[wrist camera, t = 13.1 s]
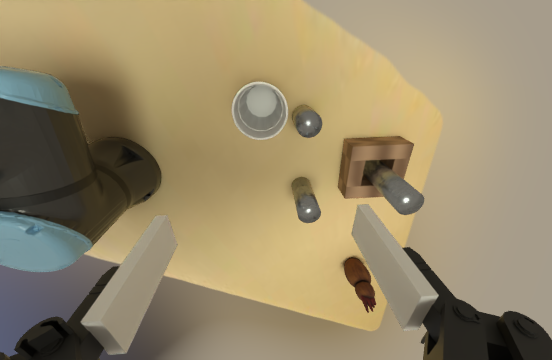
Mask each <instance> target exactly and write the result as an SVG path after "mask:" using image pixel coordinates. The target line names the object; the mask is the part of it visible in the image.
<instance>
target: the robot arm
mask: <svg viewBox="0 0 552 360" xmlns="http://www.w3.org/2000/svg"><path fill="white" fill-rule="evenodd" d="M78 115H79V112H78V111H77V110H76V109H75V107H74V105H73V102H72V100H71V97H70V95H69V92H68V90H67V88H66V86H65V85H64V84H63V83H62V82H61V81H60V80H59V79H57V78H56V77H54V76H52V75H49V74H46V73H42V72H37V71H31V70H25V69H19V68H12V67H6V66H0V264H1V265H4V266H7V267H10V268H14V269H19V270H25V271H32V272H33V271H34V272H50V271H56V270H60V269H63V268H65V267H67V266H69V265H71V264H72V263H74V262H75V261H76V260H77V259H78V258H79V257H80V256H81V255H83V254H84V253H85V252H87V251H88V250H90V249H91V248H92V246H93V245H94V244H95V243H96V242H97V241H98V240H99V239H100V238H101V237H102V235H103V234H104V233H105V232H106V231H107V230H108V229H109V228H110V227H111V226H112V225H113V224H114V223H115V222H116V221H117V219H118V218H119V217H120V216H121V215H122V214H123V213H124V212H125V211H126V210H127V209H129V208H131V207H133V206H135V205H138V204H140V203H142V202H144V201H146V200H148V199H149V198H150V197H151V196H152V195H153V194H154V193H155V192H156V191H157V189H158V188H159V186H160V183H161V173H160V169H159V166H158V164H157V162H156V161H155V159H154V158H153V157H152V156H151V155H150V153H149V152H147V151H146V150H145V149H144V148H143V147H141V146H140V145H138V144H136V143H134V142H132V141H129V140H127V139H123V138H117V137H107V138H102V139H99V140H97V141H95V142H93V143H91V144H89V145H88V144H87V141H86V138H85V135H84V132H83V129H82V126H81V123H80V120H79V117H78ZM352 236H353V238H354V240H355V242H356V243H357V245H358V247H359V249H360V251H361V253H362V255H363V257H364V258H365V260H366V262H367V264H368V266H369V268H370V270H371V271H372V273H373V275H374V277H375V279H376V281H377V283H378V285H379V286H380V288H381V290H382V292H383V294H384V296H385V298H386V299H387V301H388V303H389V305H390V307H391V309H392V311H393V312H394V314H395V316H396V318H397V320H398V322H399V324H400V326H401V327H402V329H403V331H406V330H418V329H419V328H420V326H421V324H422V323H423V324H424V326H425V327H426V329H427V332H426V334H425V335H424V337H423V338H422V340H421V343H422V344H424V342H425V347H424V356H423V360H552V340H551V338H550V337H549V335H548V334H547V333H546V331H545V330H544V329H543V328H542V327H541V326H540V325H539V324H537V323H536V322H535V321H534V320H532V319H530V318H529V317H527V316H525V315H523V314H520V313H518V312H513V311H508V312H505V313H504V314H503V315H502V316H501V317H499V316H495V315H491V314H486V313H482V312H479V311H477V310H476V309H475V308H473V307H472V306H471V305H470V304H468V303H466V302H464V301H462V300H459V299H456V298H455V297H454V295H453V294H452V293H451V292H450V291H449V289H448V288H447V287H446V286H445V285H444V284H443V282H442V281H441V280H440V279H439V278H438V276H437V275H436V274H435V273H434V272H433V271H432V270H431V268H430V267H429V266H428V265H427V264H426V262H425V261H424V260H423V259H422V257H421V256H420V255H419V254H418V253H417V252H415V251H413V249H411V248H410V247H407V248H402V247H401V246H400V245H399V243H398V242H397V241H396V240H395V238H394V237H393V236H392V234H391V233H390V232H389V230H388V229H387V228H386V227H385V225H384V224H383V223H382V221H381V220H380V219H379V218H378V216H377V215H376V214H375V212H374V211H373V210H372V208H371V207H370V206H369V205H368V204H364V205H357V210H356V215H355V220H354V225H353V229H352ZM177 245H178V244H177V242H176V239H175V236H174V233H173V230H172V227H171V224H170V221H169V218H168V216H167V215H160V216H155V218H154V219H153V220H152V222H151V223H150V225H149V226H148V227H147V229H146V230H145V232H144V233H143V234H142V236H141V237H140V239H139V240H138V242H137V243H136V244H135V246H134V247H133V249H132V250H131V251H130V253H129V254H128V256H127V257H126V258H125V260H124V261H123V263H122V264H121V266H117V267H112V268H111V269H110V270H108V271H107V272H106V273H105V274H104V275H102V277H101V278H100V279H99V281H98V282H97V283H96V285H95V287H93V289H92V290H91V291H90V292H89V295H87V297H86V298H85V299H84V300H83V302H82V303H81V304H80V306H79V307H78V308H77V310H76V311H75V312H74V314H73V315H72V316H71V318H70V319H69V320H68V321H67V323H66V322H65V321H64V320H63V319H62V318H60V317H52V318H48V319H46V320H43V321H41V322H39V323H38V324H36V325H35V326H33V327H32V328H31V329H29V330H28V331H27V332H26V333H25V334H24V335H23V336H22V337H21V338H20V340H19V341H18V342H17V344H16V347H15V349H14V350H15V351H16V352H18V354H16V355H13V356H10V357H8V356H7V355H5V354H4V353H1V352H0V360H100V359H99V356H100V355H101V353H102V351H103V349H104V350H105V351H107V353H108V354H109V355H112V354H125V353H127V351H128V349H129V346H130V344H131V342H132V340H133V338H134V336H135V334H136V332H137V330H138V328H139V325H140V323H141V321H142V319H143V317H144V315H145V313H146V310H147V308H148V306H149V304H150V302H151V300H152V298H153V296H154V294H155V291H156V289H157V287H158V285H159V283H160V281H161V279H162V277H163V274H164V272H165V270H166V268H167V266H168V264H169V262H170V260H171V257H172V255H173V253H174V251H175V249H176V247H177Z"/></svg>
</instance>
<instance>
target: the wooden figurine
mask: <svg viewBox="0 0 552 360" xmlns="http://www.w3.org/2000/svg"><path fill="white" fill-rule="evenodd" d="M344 271H345V275H346V278H347V280H348V281H349V282H350V284H351V285H352V286H354V287H355V291H356V294H357V296H358V297H359V299H361V300H362V302H363V304H364V306H365V308H366V311H367V313H368V312H369V311H368V306H369V307H370V309H371V311H372V312H373V308H374V307H375V306H374V305H376V302H375V298H374V296H375V291H374V289H373V287H372V285H371V284H370V283H371V276H370V273H369V271H368V270H367V268H366V267H365V266H364V265H363V263H362V262H361V261H360V260H358V259H355V258H351V259H348V260H347V261H346V262H345V267H344ZM367 304H368V305H367ZM372 307H373V308H372Z"/></svg>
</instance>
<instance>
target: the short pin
mask: <svg viewBox="0 0 552 360" xmlns="http://www.w3.org/2000/svg"><path fill="white" fill-rule="evenodd" d="M292 120H293V122H294V124H295V126H296V128H297V130H298V132H299V134H300V135H301V136H303V137H307V138H310V137H314V136H315V135H317V134H318V133H319V132H320V130H321V128H322V120H321V117H320V116H319V115H318V114H317V113H316V112H315V111H314V110H313V109H311V108H310V107H309V106H307V105H301V106H298V107H297V108H296V109H295V110H294V112H293V114H292Z"/></svg>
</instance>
